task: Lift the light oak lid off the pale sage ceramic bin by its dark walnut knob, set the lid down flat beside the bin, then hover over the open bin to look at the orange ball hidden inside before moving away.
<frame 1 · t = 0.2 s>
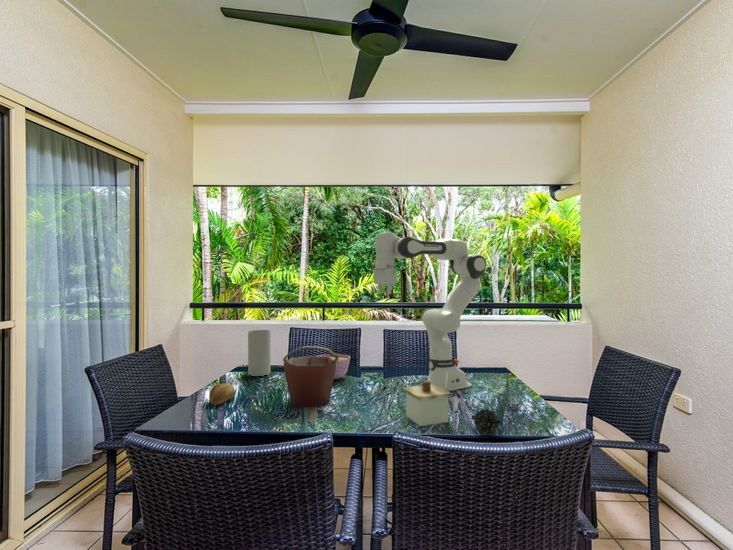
hand: (385, 293, 198), 48 cm above the table, fingers open, 8 cm apart
cylinder vase: (259, 375, 237), on the table
bowl of food: (332, 378, 227), on the table
pine cone: (484, 430, 149), on the table
bucket: (310, 403, 183), on the table
ball: (426, 410, 161), point 3 cm above the table, touching bin
bin: (426, 419, 161), on the table
lid: (426, 393, 161), point 10 cm above the table, touching bin
bread roll: (222, 402, 186), on the table
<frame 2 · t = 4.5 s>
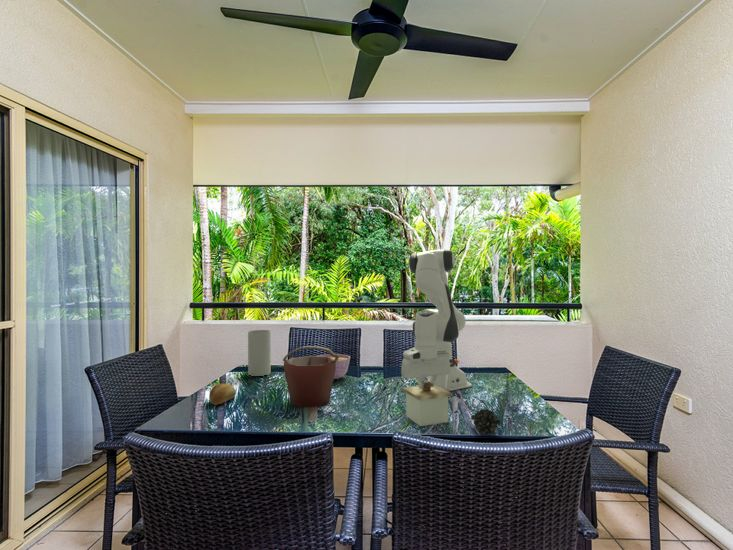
hand: (426, 387, 161), 12 cm above the table, fingers closed on lid, 3 cm apart
lid: (426, 393, 161), point 10 cm above the table, touching bin, gripper
everything else where it was.
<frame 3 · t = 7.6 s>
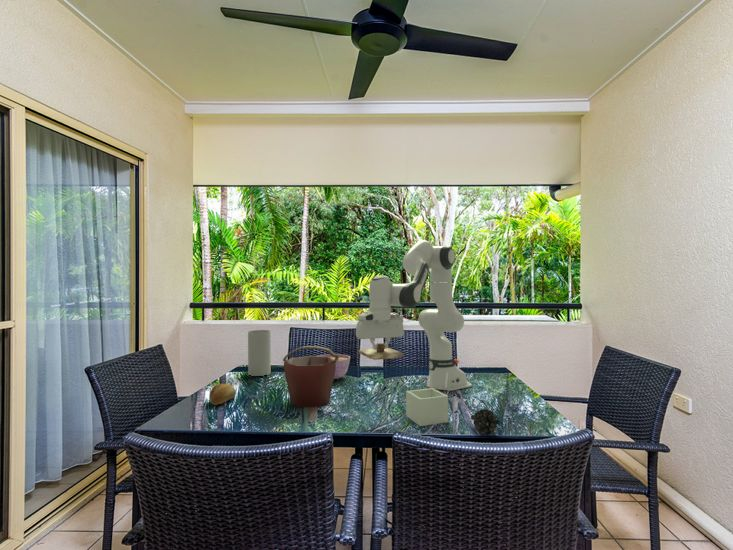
hand: (380, 348, 168), 26 cm above the table, fingers closed on lid, 3 cm apart
lid: (380, 354, 168), point 24 cm above the table, touching gripper
everything else where it was.
when the fingers open (5 cm above the table, at t = 10.5 s): lid drops 2 cm, point 1 cm above the table.
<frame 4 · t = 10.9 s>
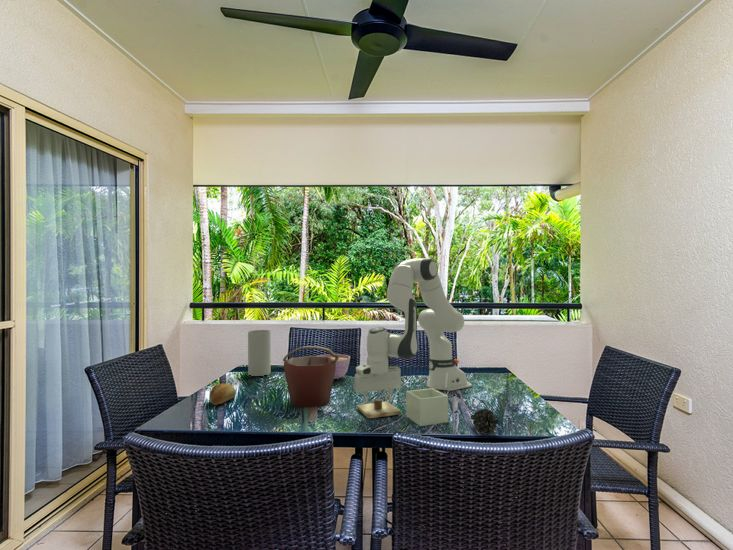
hand: (377, 401, 169), 5 cm above the table, fingers open, 8 cm apart
lid: (378, 410, 169), point 1 cm above the table
everything else where it was.
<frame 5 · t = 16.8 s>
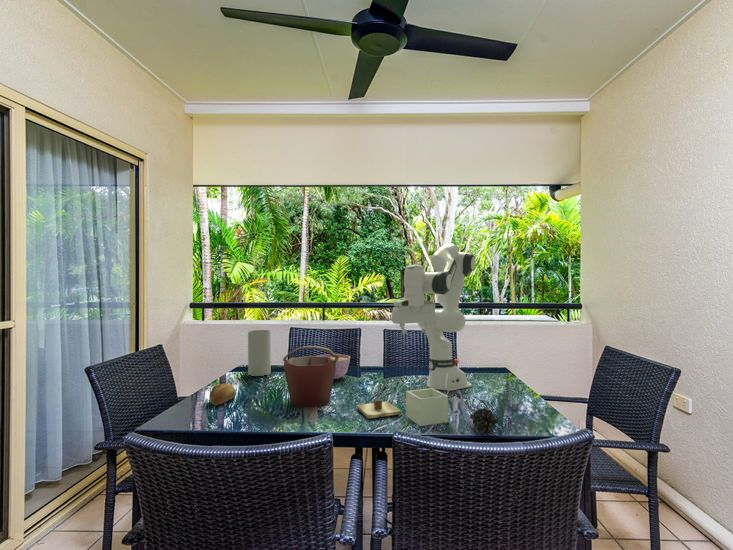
hand: (414, 333, 179), 31 cm above the table, fingers open, 8 cm apart
at the end: lid moved 22.5 cm from its start; lid inside the target area (0.1 cm from its centre), point 0.7 cm above the table; lid tilted 0° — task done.
